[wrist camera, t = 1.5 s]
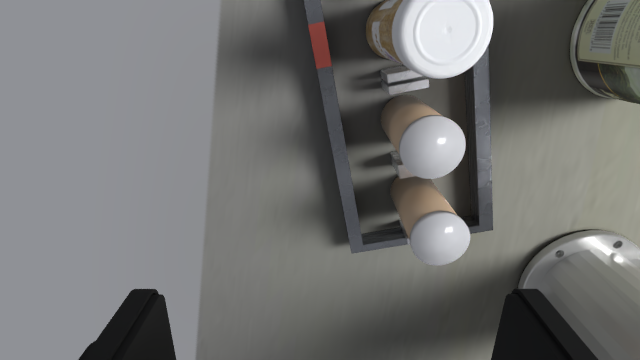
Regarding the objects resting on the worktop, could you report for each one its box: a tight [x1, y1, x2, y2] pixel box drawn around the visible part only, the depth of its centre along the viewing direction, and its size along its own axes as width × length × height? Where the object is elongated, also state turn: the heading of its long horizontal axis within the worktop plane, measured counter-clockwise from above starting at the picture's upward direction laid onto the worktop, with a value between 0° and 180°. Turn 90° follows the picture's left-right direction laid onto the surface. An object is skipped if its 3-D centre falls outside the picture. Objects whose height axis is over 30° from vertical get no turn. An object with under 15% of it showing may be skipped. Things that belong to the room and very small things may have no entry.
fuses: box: [381, 95, 470, 265], centre depth 30 cm, size 4×11×9 cm, turn 11°
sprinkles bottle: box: [366, 0, 493, 79], centre depth 24 cm, size 5×5×14 cm
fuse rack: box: [304, 0, 493, 253], centre depth 31 cm, size 13×24×4 cm, turn 11°
